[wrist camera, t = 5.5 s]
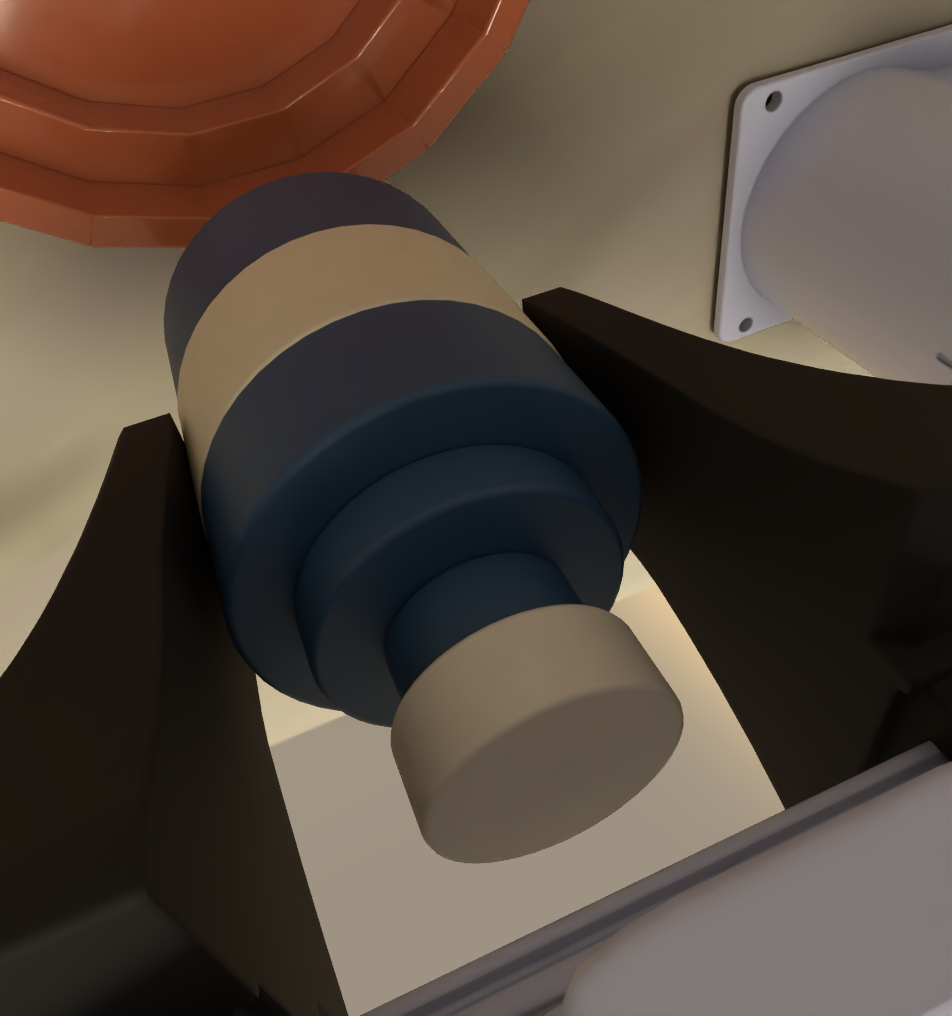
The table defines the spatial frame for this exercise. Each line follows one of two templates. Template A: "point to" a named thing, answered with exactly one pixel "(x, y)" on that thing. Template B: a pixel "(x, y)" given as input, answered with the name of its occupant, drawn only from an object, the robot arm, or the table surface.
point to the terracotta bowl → (220, 102)
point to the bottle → (416, 510)
